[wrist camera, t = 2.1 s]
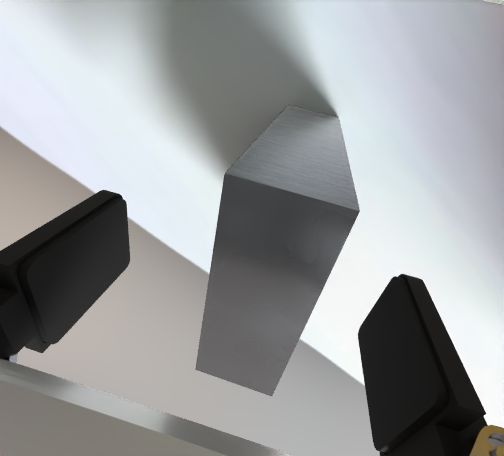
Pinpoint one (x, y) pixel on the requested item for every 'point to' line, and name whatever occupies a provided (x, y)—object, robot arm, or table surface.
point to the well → (495, 1)
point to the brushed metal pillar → (275, 246)
